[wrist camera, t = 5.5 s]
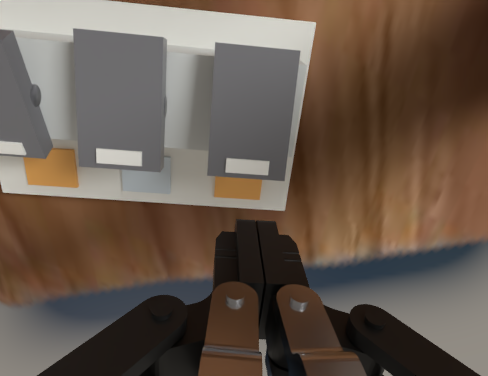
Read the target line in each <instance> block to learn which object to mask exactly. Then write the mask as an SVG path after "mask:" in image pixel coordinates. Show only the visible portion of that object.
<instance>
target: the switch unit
mask: <svg viewBox="0 0 488 376" xmlns="http://www.w3.org/2000/svg"><path fill="white" fill-rule="evenodd" d="M315 27H316V23H315V22H307V21H298V20H288V19H279V18H269V17H260V16H250V15H241V14H231V13H222V12H212V11H203V10H193V9H184V8H174V7H165V6H155V5H146V4H137V3H127V2H118V1H108V0H0V29H1V30H11V31H14V34H15V37H16V40H17V43H18V46H19V49H20V52H21V54H22V57H23V60H24V63H25V66H26V69H27V72H28V75H29V78H30V80H31V83H32V84H36V85H38V87H39V88H40V91H41V103H40V105H39V106H40V109H41V112H42V115H43V118H44V121H45V124H46V126H47V129H48V132H49V135H50V138H51V141H52V144H53V148H52V149H51V151H50V153H49V154H48V156H47V158H46V159H41V158H27V157H13V156H0V182H1V187H2V191H3V193H17V194H32V195H48V196H63V197H78V198H94V199H109V200H124V201H140V202H155V203H170V204H186V205H201V206H216V207H232V208H247V209H262V210H278V211H285V206H286V200H287V194H288V188H289V182H290V176H291V170H292V164H293V158H294V152H295V146H296V140H297V134H298V128H299V122H300V116H301V110H302V104H303V98H304V92H305V86H306V80H307V74H308V68H309V62H310V56H311V51H312V45H313V39H314V33H315ZM73 28H77V29H87V30H97V31H107V32H117V33H127V34H137V35H147V36H158V37H164V38H165V39H167V62H166V97H167V113H166V117H165V141H164V168H163V169H162V171H161V172H148V171H134V170H120V169H106V168H92V167H79V159H78V135H77V112H76V88H75V65H74V41H73ZM215 42H218V43H228V44H238V45H248V46H258V47H269V48H279V49H289V50H299V51H300V60H299V68H298V76H297V84H296V92H295V100H294V108H293V116H292V125H291V133H290V141H289V149H288V157H287V165H286V173H285V181H274V180H260V179H246V178H232V177H218V176H207V170H208V154H209V137H210V121H211V104H212V87H213V71H214V54H215Z"/></svg>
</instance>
